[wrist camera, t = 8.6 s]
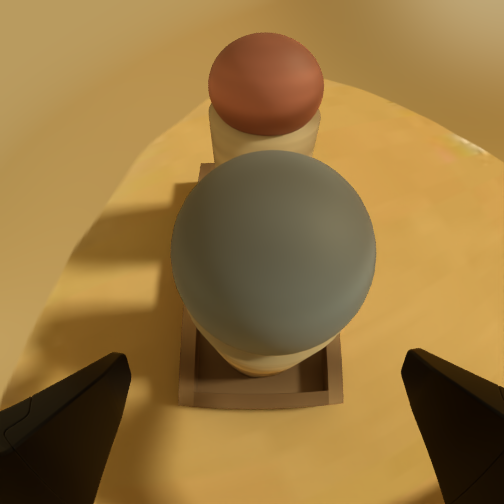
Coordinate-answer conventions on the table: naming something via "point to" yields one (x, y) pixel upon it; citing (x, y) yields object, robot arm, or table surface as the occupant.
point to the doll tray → (253, 388)
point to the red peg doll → (264, 97)
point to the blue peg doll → (272, 258)
